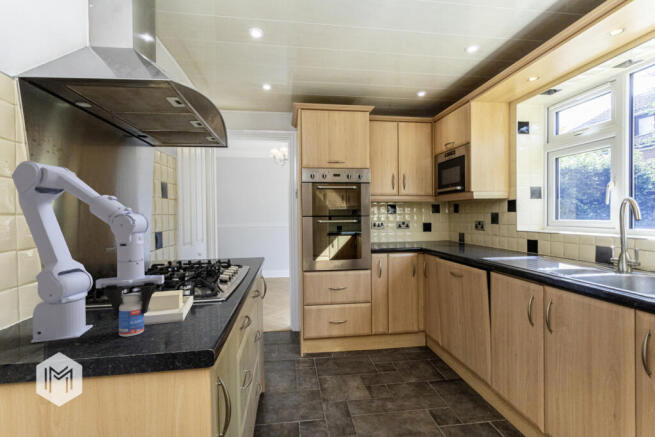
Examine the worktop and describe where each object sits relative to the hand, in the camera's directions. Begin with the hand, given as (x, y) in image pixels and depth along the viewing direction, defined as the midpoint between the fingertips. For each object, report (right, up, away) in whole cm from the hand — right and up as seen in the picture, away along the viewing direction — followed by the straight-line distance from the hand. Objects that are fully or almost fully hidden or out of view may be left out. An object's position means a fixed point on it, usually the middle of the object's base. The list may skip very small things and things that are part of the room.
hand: (131, 313), depth 74 cm
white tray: (0, -5, +15) cm, 15 cm away
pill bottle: (0, -5, 0) cm, 5 cm away
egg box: (-1, -4, +19) cm, 19 cm away
